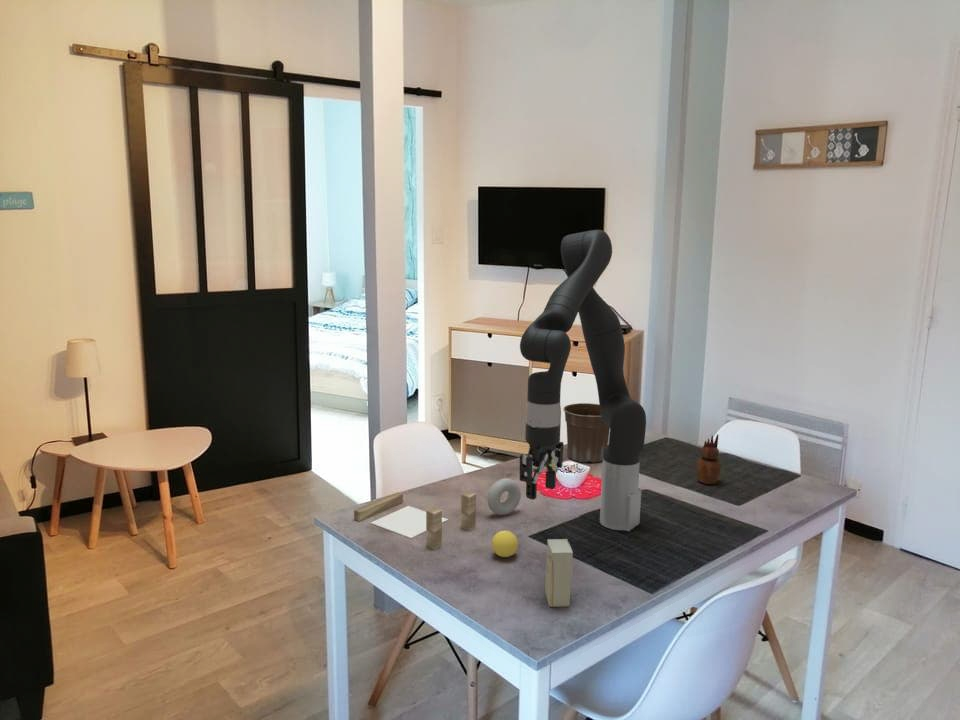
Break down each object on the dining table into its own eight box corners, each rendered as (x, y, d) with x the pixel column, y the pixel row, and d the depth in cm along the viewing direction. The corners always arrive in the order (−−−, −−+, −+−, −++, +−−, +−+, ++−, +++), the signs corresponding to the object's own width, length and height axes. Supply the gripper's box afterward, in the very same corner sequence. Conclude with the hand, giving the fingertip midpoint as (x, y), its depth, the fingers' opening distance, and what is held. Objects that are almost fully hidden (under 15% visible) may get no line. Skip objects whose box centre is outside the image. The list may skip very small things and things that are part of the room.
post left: (441, 545, 179) (441, 510, 177) (434, 549, 177) (434, 513, 175) (433, 542, 180) (433, 507, 178) (426, 546, 178) (426, 511, 176)
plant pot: (576, 446, 254) (578, 399, 250) (620, 455, 245) (623, 407, 241) (552, 458, 241) (554, 410, 237) (598, 469, 232) (600, 419, 228)
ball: (522, 554, 175) (523, 530, 173) (507, 564, 170) (508, 539, 169) (501, 547, 178) (502, 524, 177) (486, 556, 174) (486, 532, 172)
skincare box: (544, 592, 158) (546, 538, 156) (565, 591, 158) (567, 538, 156) (549, 608, 152) (551, 552, 149) (571, 607, 152) (573, 551, 150)
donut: (491, 520, 193) (492, 484, 191) (484, 516, 196) (484, 480, 194) (523, 512, 198) (524, 477, 196) (515, 508, 201) (516, 473, 199)
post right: (475, 527, 189) (476, 494, 187) (469, 531, 187) (469, 497, 185) (467, 524, 190) (467, 491, 189) (461, 528, 188) (461, 494, 187)
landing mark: (448, 520, 193) (448, 519, 193) (411, 538, 182) (411, 537, 182) (408, 506, 202) (408, 505, 202) (370, 523, 191) (370, 522, 191)
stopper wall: (402, 502, 204) (402, 493, 204) (359, 521, 192) (359, 512, 191) (397, 500, 205) (397, 492, 205) (354, 519, 193) (353, 510, 192)
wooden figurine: (721, 481, 222) (725, 433, 219) (716, 487, 218) (720, 438, 214) (698, 477, 226) (702, 429, 223) (693, 483, 221) (696, 434, 218)
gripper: (546, 411, 169) (544, 480, 173) (509, 425, 158) (507, 498, 161) (575, 417, 165) (572, 488, 168) (539, 431, 154) (537, 507, 157)
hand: (540, 493), depth 165 cm, fingers open, 7 cm apart
